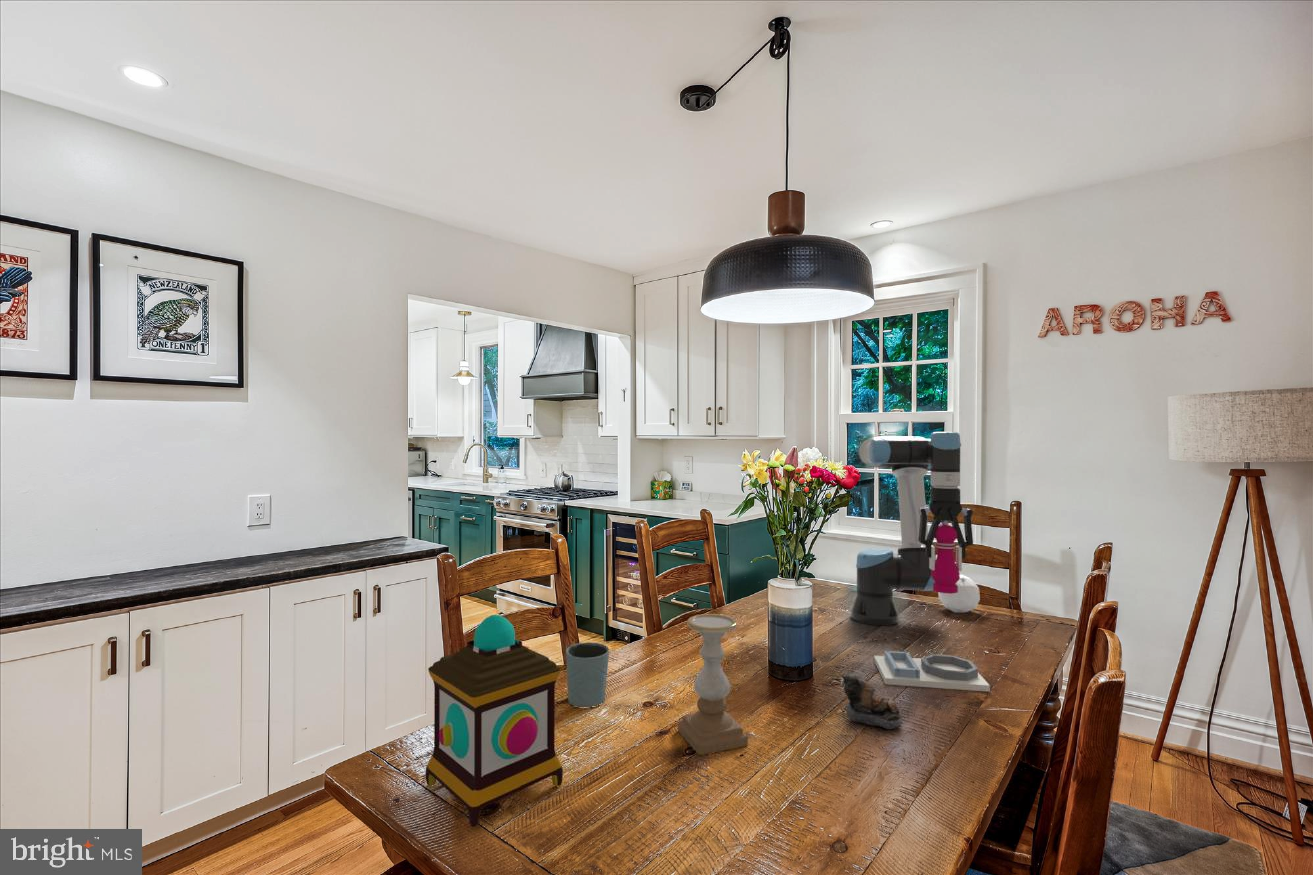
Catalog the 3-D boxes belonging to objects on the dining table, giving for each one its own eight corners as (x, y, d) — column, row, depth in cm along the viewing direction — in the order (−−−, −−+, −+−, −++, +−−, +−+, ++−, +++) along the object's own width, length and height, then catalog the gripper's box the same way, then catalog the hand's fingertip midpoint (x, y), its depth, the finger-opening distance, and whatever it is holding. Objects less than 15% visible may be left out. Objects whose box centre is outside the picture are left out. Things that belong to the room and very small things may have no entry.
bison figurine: (901, 722, 129) (901, 675, 129) (903, 737, 123) (903, 688, 123) (843, 713, 133) (843, 668, 133) (841, 727, 127) (841, 680, 127)
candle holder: (676, 730, 125) (676, 616, 125) (723, 721, 129) (723, 610, 129) (698, 756, 115) (698, 631, 115) (749, 746, 119) (749, 625, 119)
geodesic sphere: (996, 602, 204) (980, 565, 212) (959, 603, 202) (944, 566, 210) (974, 618, 215) (959, 582, 223) (939, 619, 213) (925, 583, 222)
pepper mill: (953, 587, 171) (953, 517, 171) (964, 594, 164) (964, 521, 164) (927, 587, 171) (927, 517, 171) (936, 593, 164) (936, 520, 164)
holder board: (874, 660, 165) (874, 648, 165) (968, 667, 161) (968, 654, 161) (885, 684, 149) (885, 670, 149) (989, 691, 145) (989, 677, 145)
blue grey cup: (583, 688, 146) (583, 639, 146) (617, 697, 141) (618, 646, 141) (556, 704, 138) (556, 652, 138) (591, 714, 132) (592, 660, 133)
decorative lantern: (414, 785, 105) (414, 614, 105) (513, 745, 119) (514, 594, 119) (468, 839, 91) (469, 641, 91) (574, 786, 105) (574, 615, 105)
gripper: (911, 487, 166) (911, 571, 166) (987, 488, 162) (987, 574, 162) (905, 485, 173) (905, 565, 173) (977, 486, 170) (977, 568, 169)
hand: (945, 569), depth 168 cm, fingers closed on pepper mill, 6 cm apart
